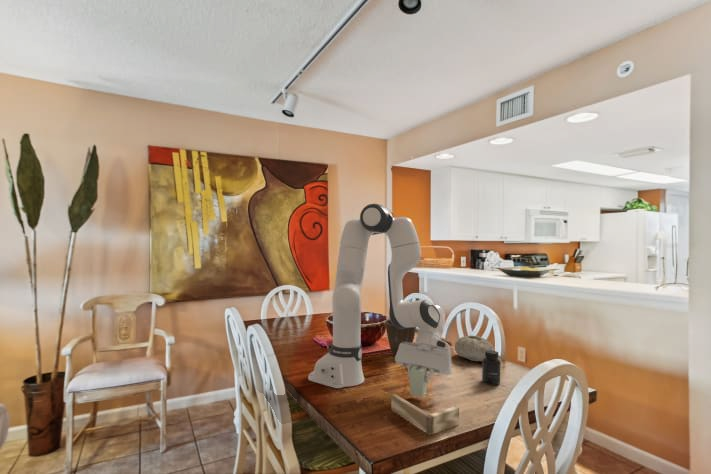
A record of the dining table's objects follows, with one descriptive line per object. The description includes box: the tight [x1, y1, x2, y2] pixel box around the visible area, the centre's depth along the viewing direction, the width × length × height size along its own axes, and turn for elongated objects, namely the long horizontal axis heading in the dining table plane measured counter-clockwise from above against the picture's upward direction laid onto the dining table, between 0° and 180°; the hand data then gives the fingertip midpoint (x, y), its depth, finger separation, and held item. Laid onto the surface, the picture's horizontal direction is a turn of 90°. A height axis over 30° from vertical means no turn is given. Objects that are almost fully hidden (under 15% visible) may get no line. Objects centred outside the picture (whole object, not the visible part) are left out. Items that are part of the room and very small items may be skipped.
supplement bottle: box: [481, 350, 502, 386], centre depth 146 cm, size 7×7×12 cm
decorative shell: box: [454, 334, 495, 362], centre depth 174 cm, size 18×18×10 cm
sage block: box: [409, 365, 428, 398], centre depth 129 cm, size 4×4×9 cm
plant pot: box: [385, 319, 417, 357], centre depth 179 cm, size 15×15×16 cm
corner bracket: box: [390, 393, 460, 436], centre depth 117 cm, size 12×18×5 cm, turn 32°
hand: (417, 380), depth 129 cm, fingers closed on sage block, 4 cm apart
